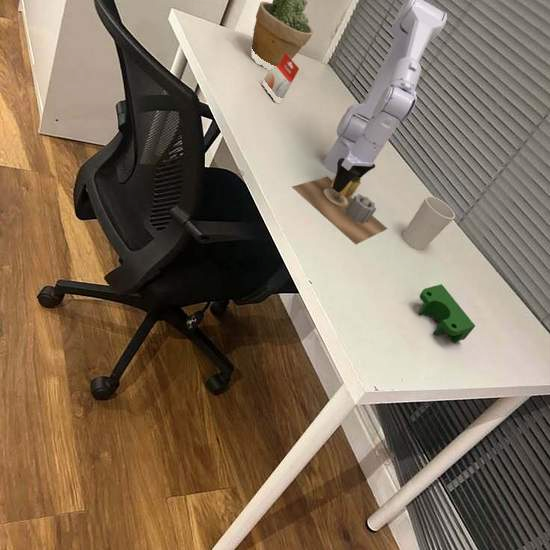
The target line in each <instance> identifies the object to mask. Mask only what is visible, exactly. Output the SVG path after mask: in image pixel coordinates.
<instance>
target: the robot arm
mask: <svg viewBox="0 0 550 550" xmlns="http://www.w3.org/2000/svg"><path fill="white" fill-rule="evenodd" d="M447 20H448V14H447V12H445V11H443V10H441V9H439V8H437V7H435V6H434V5H432V4H431V3H428V1H426V0H404V1H403V3H402V5H401V7H400V9H399V10H398V13H397V14H396V16H395V19H394V20H393V23H392V26H391V28H390V31H391V33H392V34H393V36H394V37H393V40H392V43H391V46H390V48H389V50H388V52H387V54H386V56H385V58H384V59H383V62H382V64H381V66H380V68H379V70H378V72H377V74H376V76H375V78H374V80H373V82H372V84H371V86H370V89H369V90H368V92H367V95H365V98H364V100H363V102H361V103H357V104H352V105H350V106H349V107H347V109H346V111H345V113H344V114H343V116H342V117H341V119H340V120H339V123H338V124H337V128H336V130H335V131H336V135H337V138H336V140H335V142H334V144H333V145H332V147H331V149H330V150H329V152H328V153H327V155H326V156H325V158H324V160H323V164H324V166H325V167H326V169H327V170H328V171H330V172H331V173H332V174H334V175H335V176H336V177H335V176H334V177H335V180H334V183H333V187H332V188H333V189H334V190H335V191H337V192H338V193H340V192H341V191H342V190H343V189H344V188H345V187H346V186H347V185H348V184H349V182H350V181H351V180H353V179H354V178H355V177H357V176H358V177H359V178H360V179H362V177H364V176H365V175H366V174H367V173H368V172H370V171H371V170H373V169H375V168H376V165H375V160H376V159H377V157H378V156H379V154H380V153H381V151H382V150H383V148H384V147H385V145H386V144H387V142H388V141H389V140H390V139H391V136H392V135H393V133H394V132H395V130H396V129H397V127H398V126H399V124H400V123H401V122H402V123H403V122H405V121H406V120H407V119H408V118H409V116H410V115H411V114H412V112H413V110H414V108H415V107H416V102H417V101H418V100H417V99H418V97H417V91H416V88H417V85H418V82H419V79H420V76H421V73H422V67H421V64H420V60H421V58H422V56H423V54H424V52H425V49H426V47H427V45H429V44H430V43H431V42H432V41H433V40H434V39H436V38H437V37H438V35H440V33H441V32H442V30H443V28H444V27H445V25H446V22H447Z"/></svg>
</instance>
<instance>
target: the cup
mask: <svg viewBox="0 0 550 550" xmlns="http://www.w3.org/2000/svg"><path fill="white" fill-rule="evenodd" d="M455 218H456V214H455V212H454V210H453V209H452V208H451V207H450V206H449V205H448V204H447V203H446V202H445V201H443V200H441V199H440V198H438V197H435V196H433V195H427V196H425V198H424V200H423V202H422V203H421V204H420V206H419V207H418V210H417V212H416V213H415V214H414V216H413V217H412V219H411V221H410V222H409V223H408V225H407V227H406V228H405V229H404V231H403V232H402V234H401V236H402V239H403V241H404V242H405V243H406V244H407V245H408V246H410V248H412V249H414V250H416V251H419V252H420V251H424V250H425V249H426V248H427V247H428V246H429V244H430V243H431V242H433V240H435V239H436V237H438V236H439V235H440V234H441V232H442V231H443V230H445V228H446V227H447V226H448V225H449V224H450V223H451V222H452V221H453V220H454V219H455Z"/></svg>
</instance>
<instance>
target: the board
mask: <svg viewBox="0 0 550 550" xmlns="http://www.w3.org/2000/svg"><path fill="white" fill-rule="evenodd" d="M332 181H333V179H331V178H330V177H328V176H324V177H322V178H318V179H313V180H310V181H307V182H304V183H301V184H296V185H293V186H291V188H292V189H293V190H295V191H296V193H298V194H299V195H300V196H301V197H302V199H303V200H305V201H306V202H308V203H309V204H310V205H311V206H312V207H313V208H314V209H316V211H318V212H319V213H320V214H321V215H322V216H323V217H324V218H325V219H326V220H327V221H329V222H330V223H331V224H332V225H333V226H334V227H336V229H338V230H339V231H340V232H341V233H342V234H343V235H344V236H345V237H347V238H348V239H349V240H350V241H351V242H352V243H353V244H355V245H358V244H360V243H362V242H364V241H366V240H368V239H370V238H372V237H375V236H376V235H378V234H380V233H382V232H384V231H386V230H388V227H387V226H385V224H383V223H382V222H381V221H379V220H378V219H377V218H376V217H375V216H374V214H373V215H372V216H371V217H370V219H369V220H368V222H365V223H364V224H362V223H360V222H358V221H354V219H352V218H351V217H350V216H348V215H347V213H348V212H347V210H346V208H347V207H348V205H349V204H350V202H351V201H352V199H353V198H354V197H353V196H352V197H350V196H347V197H344V196H343V195H341V194H338V193H337V192H336V191H335V190H334V189H333V188H332V187H331V185H332V183H331V182H332ZM369 200H370V199H369ZM369 200H368V199H367V198H364V199H363V201H362V202H361V203H362V204H363V205H365V206H368V204H369V203H370V201H369Z"/></svg>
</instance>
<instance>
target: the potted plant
mask: <svg viewBox="0 0 550 550" xmlns="http://www.w3.org/2000/svg"><path fill="white" fill-rule="evenodd" d="M307 5H308V0H272V2H269V1H268V2H267V1H261V2H260V4H259V5H258V10H257V12H256V15H255V20H256V21H255V23H254V27H253V36H252V43H251V47H252V49H253V51H254V52H255V54H257V55H258V56H259V57H260V58H261V59H263V60H264V61H266V62H268V63H270V64H271V65H274V66H278V65H279V64H280V62H281V60H282V58H283V56H284V53H286V54H287V55H288V56H289V58H290V59H291V60H292V61H293V59H294V57H296V55H297V54H298V53H299V52H300V51H301V49H302V48H303V46H305V45H306V44H307V43H308V41H309V40H310V38H312V35H313V34H314V30H313V29H312V27H311V26H310V25H309V22H310V20H309V19H308V17H307V14H305V13H304V11H305V8H306V6H307ZM289 63H290V62H289V61H287V64H288V65H289Z"/></svg>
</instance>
